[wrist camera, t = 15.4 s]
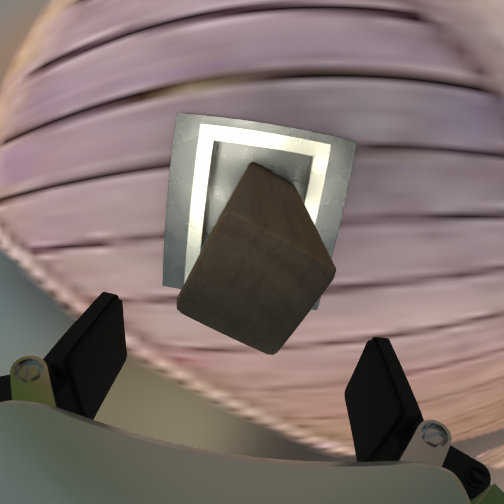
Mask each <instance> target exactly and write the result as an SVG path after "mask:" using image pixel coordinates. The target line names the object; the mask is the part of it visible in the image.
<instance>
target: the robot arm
mask: <svg viewBox="0 0 504 504" xmlns="http://www.w3.org/2000/svg"><path fill="white" fill-rule="evenodd" d="M126 357H127V350H126V341H125V330H124V318H123V304H122V300H120V299H119V297H118V296H117V295H115V294H111V293H107V292H103V293H101V294H100V296H99V297H98V298H97V299H96V300H95V301H94V302H93V303H92V304H91V305H90V307H89V308H88V309H87V310H86V311H85V312H84V313H83V314H82V315H81V317H80V318H79V319H78V320H77V321H76V322H75V323H74V324H73V325H72V326H71V327H70V328H69V329H68V331H67V332H66V333H65V334H64V335H63V336H62V338H61V339H60V340H59V341H58V342H57V343H56V345H55V346H54V347H53V348H52V349H51V351H50V352H49V353H48V354H47V355H46V357H45V358H44V359H41V358H39V357H36V356H25V357H22V358H20V359H18V360H17V361H15V362H14V364H13V365H12V367H11V370H10V375H6V376H1V377H0V504H504V492H503V491H502V490H501V489H500V488H499V487H498V486H497V485H496V484H493V485H491V484H490V480H491V478H490V473H489V471H488V469H487V468H486V466H484V465H483V464H482V463H480V462H478V461H476V460H475V459H473V458H471V457H469V456H468V455H466V454H464V453H463V452H461V451H459V450H458V449H456V448H454V447H452V446H451V445H450V444H451V440H452V438H451V433H450V431H449V430H448V428H447V427H446V426H445V425H443V424H442V423H441V422H438V421H436V420H425V421H424V420H423V417H422V414H421V411H420V409H419V406H418V404H417V402H416V399H415V397H414V394H413V392H412V390H411V387H410V385H409V383H408V380H407V378H406V376H405V374H404V371H403V369H402V367H401V365H400V362H399V360H398V358H397V356H396V354H395V351H394V349H393V347H392V345H391V343H390V341H389V339H388V338H380V337H373V338H372V340H369V341H368V342H367V343H366V346H365V348H364V350H363V353H362V355H361V357H360V359H359V362H358V364H357V366H356V368H355V370H354V373H353V375H352V377H351V379H350V381H349V383H348V385H347V387H346V390H345V401H346V406H347V411H348V416H349V421H350V426H351V431H352V436H353V441H354V446H355V452H356V457H357V462H311V461H292V460H278V459H268V458H267V459H266V458H257V457H249V456H241V455H234V454H227V453H221V452H215V451H209V450H204V449H199V448H194V447H189V446H184V445H179V444H175V443H171V442H166V441H162V440H158V439H154V438H151V437H146V436H143V435H140V434H136V433H133V432H129V431H126V430H123V429H120V428H117V427H113V426H110V425H107V424H104V423H101V422H98V421H95V420H93V419H94V417H95V416H96V413H97V411H98V410H99V408H100V406H101V404H102V402H103V401H104V399H105V397H106V395H107V393H108V391H109V390H110V388H111V386H112V384H113V382H114V381H115V379H116V377H117V375H118V373H119V372H120V370H121V368H122V366H123V364H124V363H125V361H126Z"/></svg>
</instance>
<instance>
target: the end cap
mask: <svg viewBox="0 0 504 504" xmlns="http://www.w3.org/2000/svg"><path fill="white" fill-rule="evenodd" d="M356 146H357V142H355V141H351V140H347V139H343V138H338V137H334V136H330V135H325V134H320V133H316V132H311V131H306V130H301V129H295V128H290V127H284V126H279V125H273V124H267V123H260V122H254V121H247V120H239V119H231V118H223V117H214V116H205V115H194V114H182V113H177V116H176V123H175V131H174V139H173V147H172V156H171V165H170V175H169V185H168V197H167V209H166V223H165V240H164V260H163V286H168V287H173V288H178V289H182V287H183V286H184V284H185V282H186V280H187V278H188V276H189V274H190V272H191V270H192V268H193V266H194V264H195V262H196V260H197V258H198V256H199V255H200V253H201V251H202V249H203V247H204V245H205V243H206V241H207V239H208V238H209V236H210V234H211V232H212V230H213V228H214V226H215V224H216V223H217V221H218V219H219V217H220V215H221V213H222V212H223V210H224V208H225V206H226V204H227V202H228V201H229V199H230V197H231V195H232V193H233V192H234V190H235V188H236V186H237V184H238V183H239V181H240V179H241V177H242V176H243V174H244V172H245V170H246V169H247V167H248V165H249V164H250V163H251V162H256V163H258V164H260V165H261V166H263V167H265V168H267V169H269V170H270V171H272V172H274V173H276V174H277V175H279V176H281V177H283V178H284V179H286V180H288V181H290V182H291V183H293V184H294V186H295V187H296V189H297V191H298V193H299V195H300V197H301V199H302V201H303V203H304V204H305V206H306V208H307V210H308V212H309V214H310V216H311V218H312V220H313V222H314V224H315V226H316V228H317V230H318V232H319V235H320V237H321V239H322V241H323V243H324V245H325V247H326V249H327V251H328V253H329V255H330V257H332V253H333V249H334V246H335V242H336V238H337V233H338V229H339V225H340V221H341V217H342V212H343V208H344V204H345V199H346V195H347V190H348V186H349V181H350V176H351V171H352V166H353V161H354V156H355V151H356ZM320 298H321V296H320ZM320 298H319V299H318V300H317V302H316V303H315V304H314V306H313V307H312V308H311V309H312V310H317V308H318V304H319V301H320Z"/></svg>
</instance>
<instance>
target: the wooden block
mask: <svg viewBox="0 0 504 504" xmlns="http://www.w3.org/2000/svg"><path fill="white" fill-rule="evenodd" d="M335 272H336V268H335V266H334V264H333V262H332V259H331V257H330V255H329V253H328V251H327V249H326V247H325V245H324V243H323V241H322V239H321V237H320V235H319V232H318V230H317V228H316V226H315V224H314V222H313V220H312V218H311V216H310V214H309V212H308V210H307V208H306V206H305V204H304V203H303V201H302V199H301V197H300V195H299V193H298V191H297V189H296V187H295V186H294V184H293V183H291V182H290V181H288V180H286V179H284V178H283V177H281V176H279V175H277V174H276V173H274V172H272V171H270V170H269V169H267V168H265V167H263V166H261V165H260V164H258V163H256V162H251V163H250V164H249V165H248V167H247V169H246V170H245V172H244V174H243V176H242V177H241V179H240V181H239V183H238V184H237V186H236V188H235V190H234V192H233V193H232V195H231V197H230V199H229V201H228V202H227V204H226V206H225V208H224V210H223V212H222V213H221V215H220V217H219V219H218V221H217V223H216V224H215V226H214V228H213V230H212V232H211V234H210V236H209V238H208V239H207V241H206V243H205V245H204V247H203V249H202V251H201V253H200V255H199V256H198V258H197V260H196V262H195V264H194V266H193V268H192V270H191V272H190V274H189V276H188V278H187V280H186V282H185V284H184V286H183V287H182V289H181V291H180V293H179V295H178V297H177V309H178V310H179V311H180V312H181V313H182V314H184V315H186V316H188V317H190V318H192V319H194V320H196V321H198V322H200V323H202V324H204V325H206V326H208V327H210V328H212V329H214V330H216V331H218V332H220V333H222V334H225V335H227V336H229V337H231V338H233V339H235V340H237V341H239V342H242V343H244V344H246V345H248V346H250V347H253V348H255V349H257V350H259V351H261V352H264V353H266V354H271V355H274V354H275V353H277V352H278V351H279V350H280V348H281V347H282V346H283V345H284V343H285V342H286V341H287V340H288V338H289V337H290V336H291V335H292V333H293V332H294V331H295V329H296V328H297V327H298V326H299V324H300V323H301V322H302V320H303V319H304V318H305V316H306V315H307V314H308V312H309V311H310V310H311V308H312V307H313V306H314V304H315V303H316V302H317V300H318V299H319V298H320V296H321V295H322V294H323V292H324V291H325V290H326V288H327V287H328V285H329V284H330V283H331V281H332V280H333V278H334V276H335Z"/></svg>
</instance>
